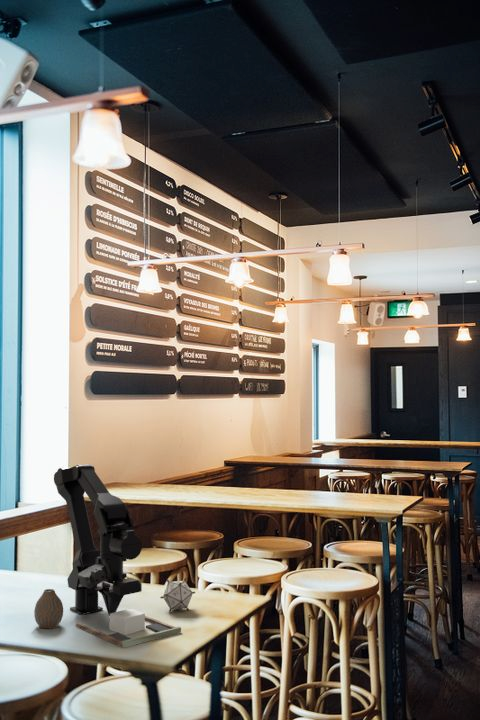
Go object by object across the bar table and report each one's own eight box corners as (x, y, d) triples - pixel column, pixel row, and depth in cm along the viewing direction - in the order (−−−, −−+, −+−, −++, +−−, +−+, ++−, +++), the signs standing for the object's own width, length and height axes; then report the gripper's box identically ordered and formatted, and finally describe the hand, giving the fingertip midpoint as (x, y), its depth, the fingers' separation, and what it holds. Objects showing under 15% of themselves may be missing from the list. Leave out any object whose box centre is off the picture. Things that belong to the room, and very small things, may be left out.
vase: (38, 621, 191) (39, 586, 192) (66, 622, 191) (66, 586, 192) (30, 630, 184) (30, 593, 185) (58, 630, 184) (59, 593, 185)
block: (109, 630, 185) (109, 613, 185) (129, 624, 189) (129, 608, 190) (124, 635, 181) (124, 618, 181) (144, 630, 185) (144, 613, 185)
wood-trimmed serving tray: (75, 626, 188) (75, 621, 188) (131, 613, 198) (131, 608, 198) (123, 647, 172) (123, 642, 172) (180, 632, 182) (180, 627, 183)
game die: (182, 626, 200) (188, 601, 194) (153, 612, 202) (158, 587, 196) (196, 601, 207) (202, 577, 202) (167, 589, 209) (173, 564, 204)
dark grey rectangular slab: (106, 637, 179) (106, 635, 179) (155, 625, 188) (155, 623, 188) (120, 643, 175) (120, 641, 175) (170, 630, 184) (170, 628, 184)
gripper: (64, 551, 193) (63, 614, 192) (103, 563, 179) (103, 631, 178) (102, 546, 200) (102, 606, 200) (143, 556, 186) (142, 621, 186)
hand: (111, 616), depth 191 cm, fingers closed
